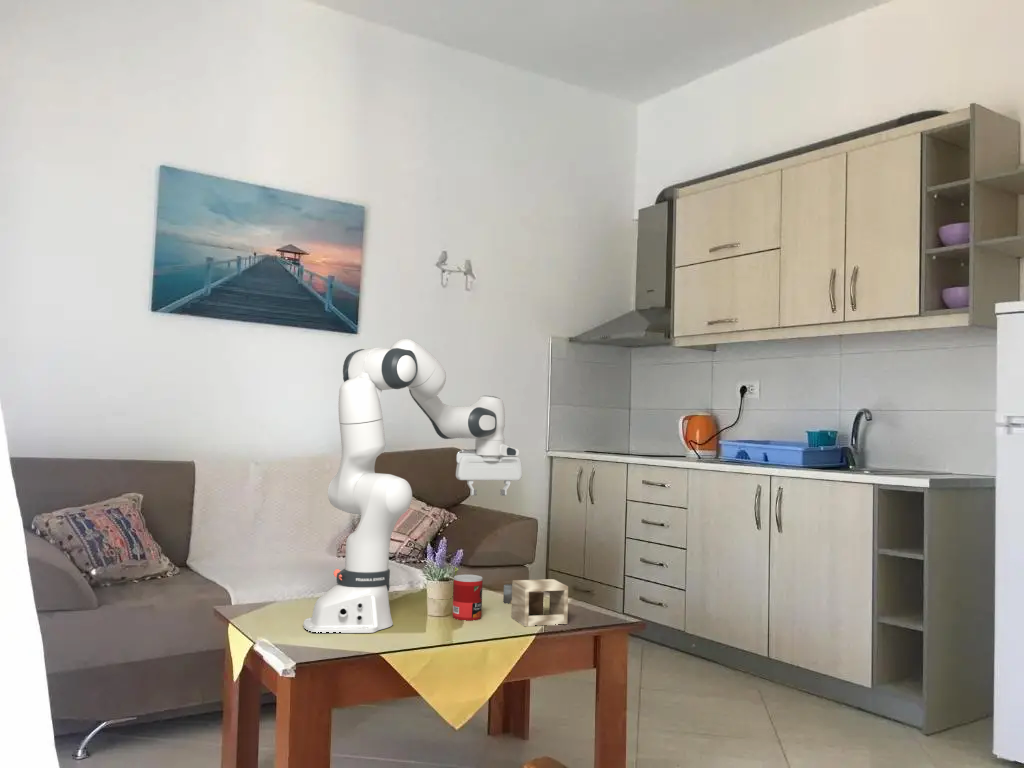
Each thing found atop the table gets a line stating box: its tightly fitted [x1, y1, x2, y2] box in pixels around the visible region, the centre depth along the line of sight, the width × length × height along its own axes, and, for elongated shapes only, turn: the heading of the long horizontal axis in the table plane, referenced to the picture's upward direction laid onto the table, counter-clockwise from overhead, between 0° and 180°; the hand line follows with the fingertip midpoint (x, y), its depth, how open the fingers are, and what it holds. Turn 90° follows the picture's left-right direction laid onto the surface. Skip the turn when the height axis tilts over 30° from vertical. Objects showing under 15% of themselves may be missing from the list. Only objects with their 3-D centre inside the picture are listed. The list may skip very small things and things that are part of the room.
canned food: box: [452, 574, 483, 622], centre depth 231 cm, size 8×8×11 cm
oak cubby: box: [511, 578, 569, 627], centre depth 230 cm, size 12×11×10 cm
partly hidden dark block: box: [502, 583, 545, 615], centre depth 246 cm, size 6×20×6 cm, turn 22°
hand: (488, 495), depth 258 cm, fingers open, 8 cm apart
